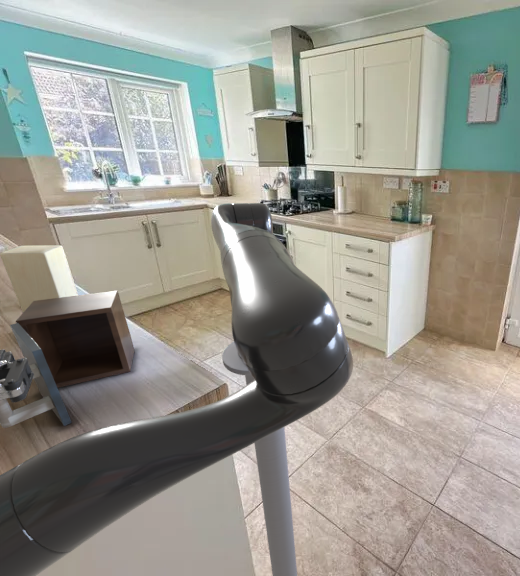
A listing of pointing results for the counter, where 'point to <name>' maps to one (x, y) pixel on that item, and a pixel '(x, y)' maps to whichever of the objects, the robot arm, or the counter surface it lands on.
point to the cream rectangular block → (38, 273)
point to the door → (44, 381)
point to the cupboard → (81, 336)
